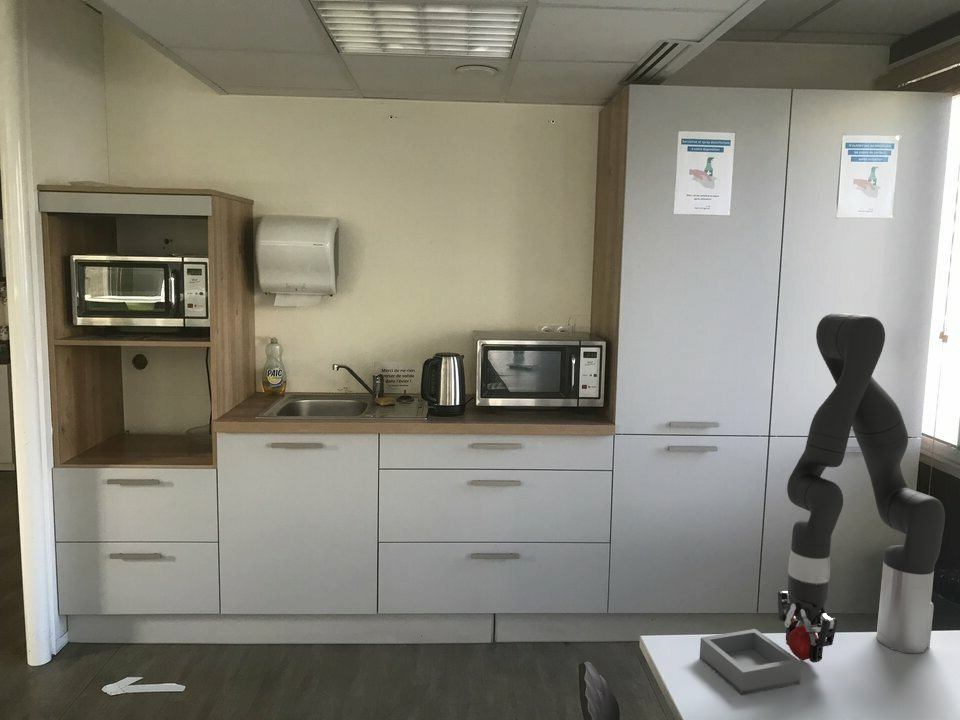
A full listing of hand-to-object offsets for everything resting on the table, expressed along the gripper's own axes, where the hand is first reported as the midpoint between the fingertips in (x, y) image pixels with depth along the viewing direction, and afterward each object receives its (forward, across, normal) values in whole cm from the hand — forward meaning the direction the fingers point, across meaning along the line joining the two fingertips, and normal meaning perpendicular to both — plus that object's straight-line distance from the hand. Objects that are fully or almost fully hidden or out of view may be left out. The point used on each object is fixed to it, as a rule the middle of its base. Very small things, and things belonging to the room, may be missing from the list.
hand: (802, 652), depth 145 cm
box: (+2, 0, +13) cm, 13 cm away
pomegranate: (+2, 0, 0) cm, 2 cm away
